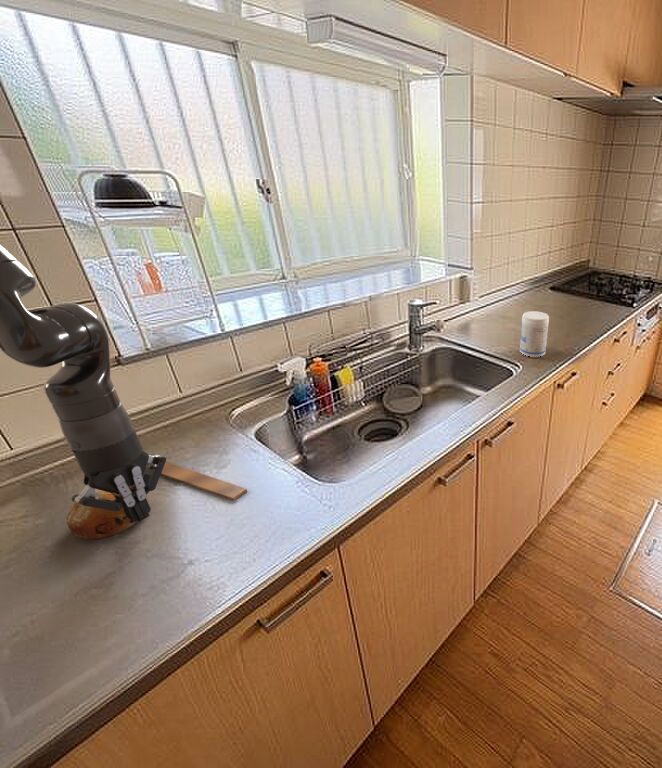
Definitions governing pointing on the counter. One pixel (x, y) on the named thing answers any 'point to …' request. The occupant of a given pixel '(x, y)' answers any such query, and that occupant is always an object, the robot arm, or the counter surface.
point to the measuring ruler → (202, 481)
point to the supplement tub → (534, 334)
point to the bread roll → (97, 520)
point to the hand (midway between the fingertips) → (141, 517)
